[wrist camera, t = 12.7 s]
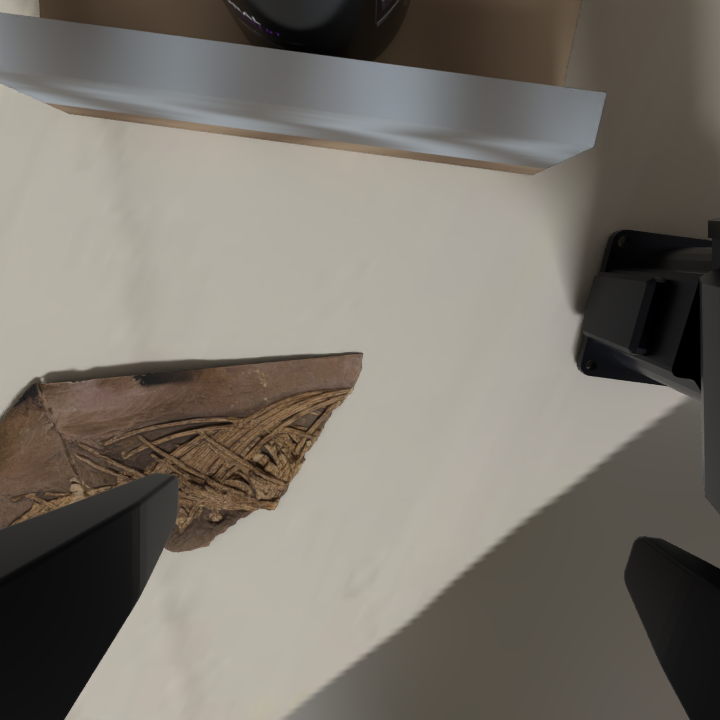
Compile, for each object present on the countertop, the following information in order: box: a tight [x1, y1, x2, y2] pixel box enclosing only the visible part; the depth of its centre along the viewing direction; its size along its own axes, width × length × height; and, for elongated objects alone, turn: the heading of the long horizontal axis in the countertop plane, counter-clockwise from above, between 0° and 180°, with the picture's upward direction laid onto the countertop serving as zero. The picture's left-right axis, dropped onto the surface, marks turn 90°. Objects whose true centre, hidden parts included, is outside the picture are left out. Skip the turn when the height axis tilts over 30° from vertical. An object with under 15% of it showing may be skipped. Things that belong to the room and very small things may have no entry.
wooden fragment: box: [0, 353, 363, 552], centre depth 23 cm, size 26×11×1 cm, turn 110°
